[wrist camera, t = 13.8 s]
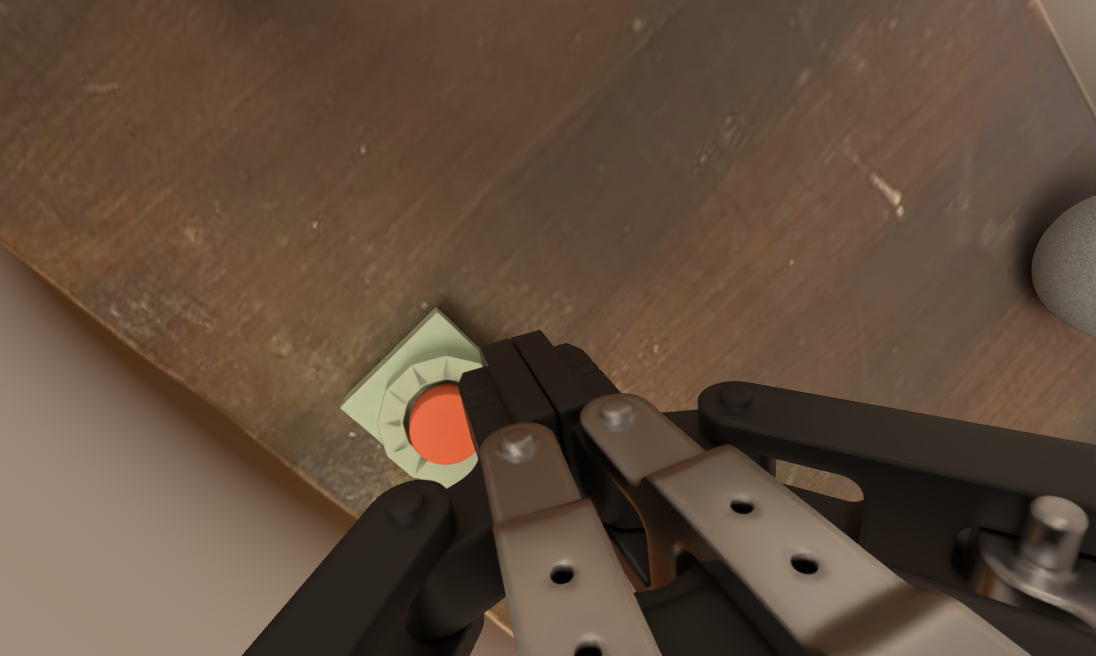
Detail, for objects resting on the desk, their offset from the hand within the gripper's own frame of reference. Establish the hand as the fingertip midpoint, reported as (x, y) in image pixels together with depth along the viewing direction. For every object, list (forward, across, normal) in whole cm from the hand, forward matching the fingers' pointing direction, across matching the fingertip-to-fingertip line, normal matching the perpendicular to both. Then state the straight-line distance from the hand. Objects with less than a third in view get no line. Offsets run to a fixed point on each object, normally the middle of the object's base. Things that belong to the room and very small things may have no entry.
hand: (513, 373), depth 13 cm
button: (+13, +2, +9) cm, 16 cm away
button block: (+17, +2, +10) cm, 19 cm away
